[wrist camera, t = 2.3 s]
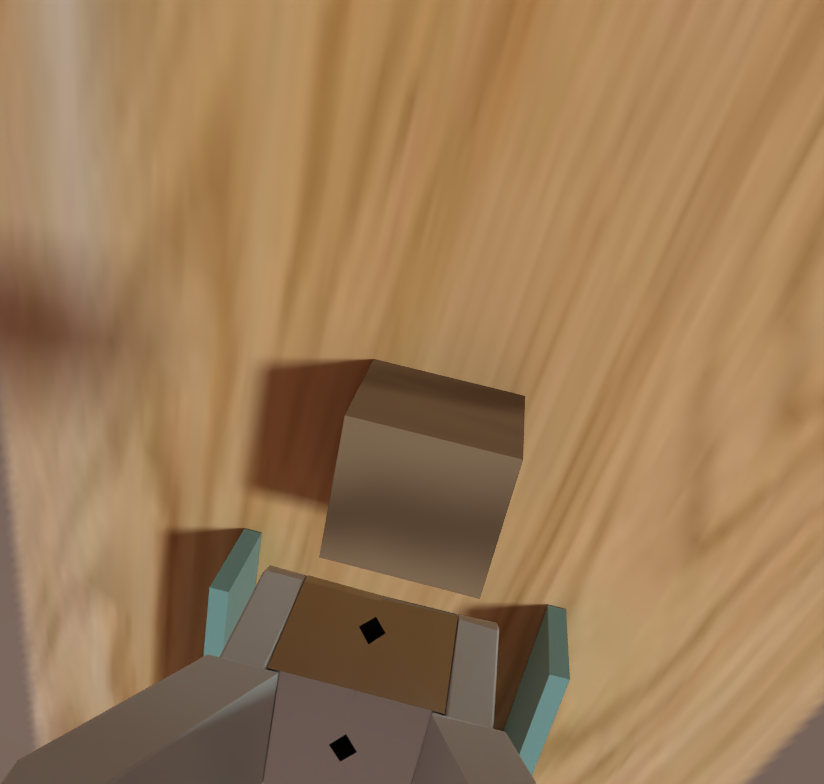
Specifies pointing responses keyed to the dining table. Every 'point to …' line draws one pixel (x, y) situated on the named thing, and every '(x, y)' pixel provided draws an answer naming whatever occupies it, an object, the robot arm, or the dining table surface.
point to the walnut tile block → (424, 477)
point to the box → (535, 691)
